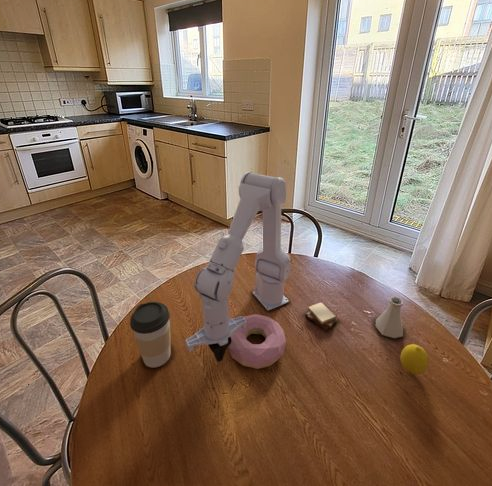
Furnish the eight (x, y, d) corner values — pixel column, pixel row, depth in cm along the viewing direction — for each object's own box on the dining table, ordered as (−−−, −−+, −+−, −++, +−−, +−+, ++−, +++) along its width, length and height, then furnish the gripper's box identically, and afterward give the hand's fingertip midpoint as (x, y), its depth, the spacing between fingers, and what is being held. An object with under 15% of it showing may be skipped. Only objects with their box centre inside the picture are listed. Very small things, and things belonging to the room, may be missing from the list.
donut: (215, 353, 75) (214, 338, 73) (247, 316, 86) (247, 303, 84) (267, 385, 67) (268, 370, 65) (295, 340, 78) (297, 326, 76)
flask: (397, 319, 85) (405, 292, 80) (407, 339, 78) (416, 311, 74) (371, 317, 85) (377, 290, 81) (379, 337, 79) (387, 309, 74)
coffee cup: (182, 347, 76) (176, 303, 70) (159, 377, 69) (150, 330, 63) (155, 336, 80) (147, 293, 74) (130, 363, 72) (119, 317, 66)
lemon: (420, 364, 71) (429, 341, 68) (425, 385, 67) (434, 360, 63) (395, 358, 73) (403, 334, 70) (398, 377, 68) (406, 353, 65)
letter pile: (302, 316, 86) (303, 310, 85) (317, 306, 90) (318, 300, 89) (325, 334, 80) (326, 327, 79) (340, 321, 84) (341, 315, 83)
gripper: (191, 341, 59) (196, 385, 65) (252, 315, 65) (252, 357, 71) (180, 318, 65) (186, 361, 70) (238, 296, 71) (239, 337, 77)
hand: (218, 357), depth 71 cm, fingers closed
